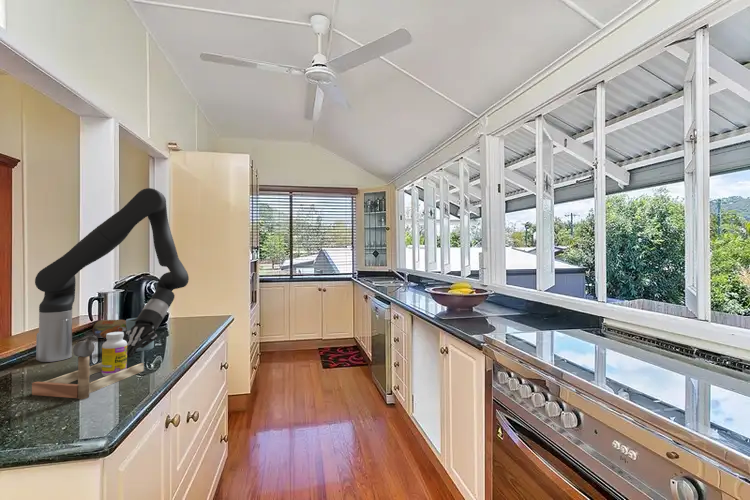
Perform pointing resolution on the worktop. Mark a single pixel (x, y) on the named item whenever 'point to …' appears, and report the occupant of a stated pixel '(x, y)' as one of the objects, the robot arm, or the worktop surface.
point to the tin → (108, 327)
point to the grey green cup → (129, 325)
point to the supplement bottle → (114, 353)
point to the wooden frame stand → (82, 376)
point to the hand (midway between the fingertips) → (125, 357)
